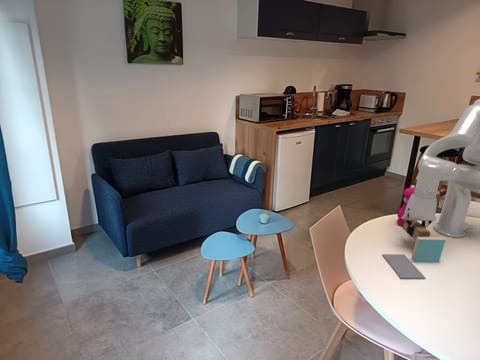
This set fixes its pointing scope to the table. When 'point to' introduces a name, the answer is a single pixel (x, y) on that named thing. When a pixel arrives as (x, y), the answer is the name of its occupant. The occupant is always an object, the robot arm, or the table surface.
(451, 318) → the table surface
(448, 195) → the robot arm
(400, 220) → the pepper mill
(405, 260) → the mat
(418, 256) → the tile
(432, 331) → the table surface
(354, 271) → the table surface
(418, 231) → the block
